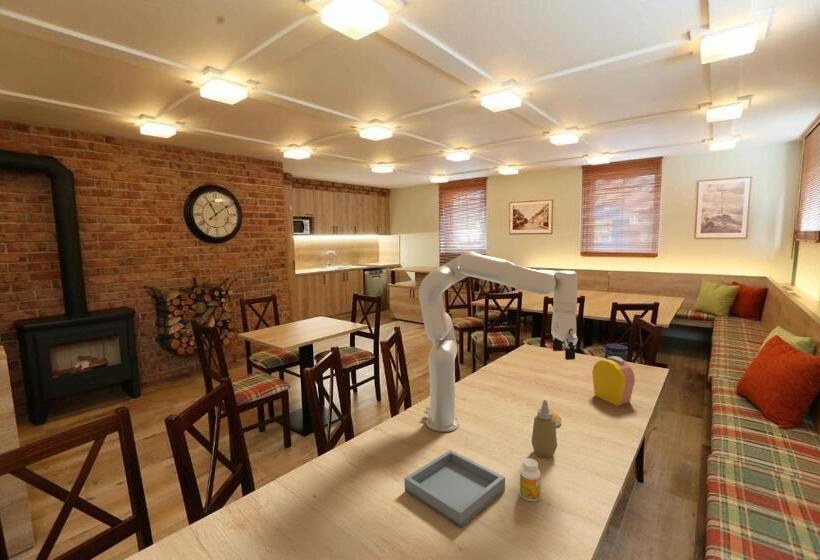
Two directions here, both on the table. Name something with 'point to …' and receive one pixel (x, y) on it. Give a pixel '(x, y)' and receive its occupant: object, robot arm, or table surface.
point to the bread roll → (556, 418)
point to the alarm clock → (613, 380)
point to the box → (455, 487)
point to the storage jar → (616, 351)
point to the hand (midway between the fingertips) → (563, 355)
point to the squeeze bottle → (544, 432)
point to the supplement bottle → (530, 480)
